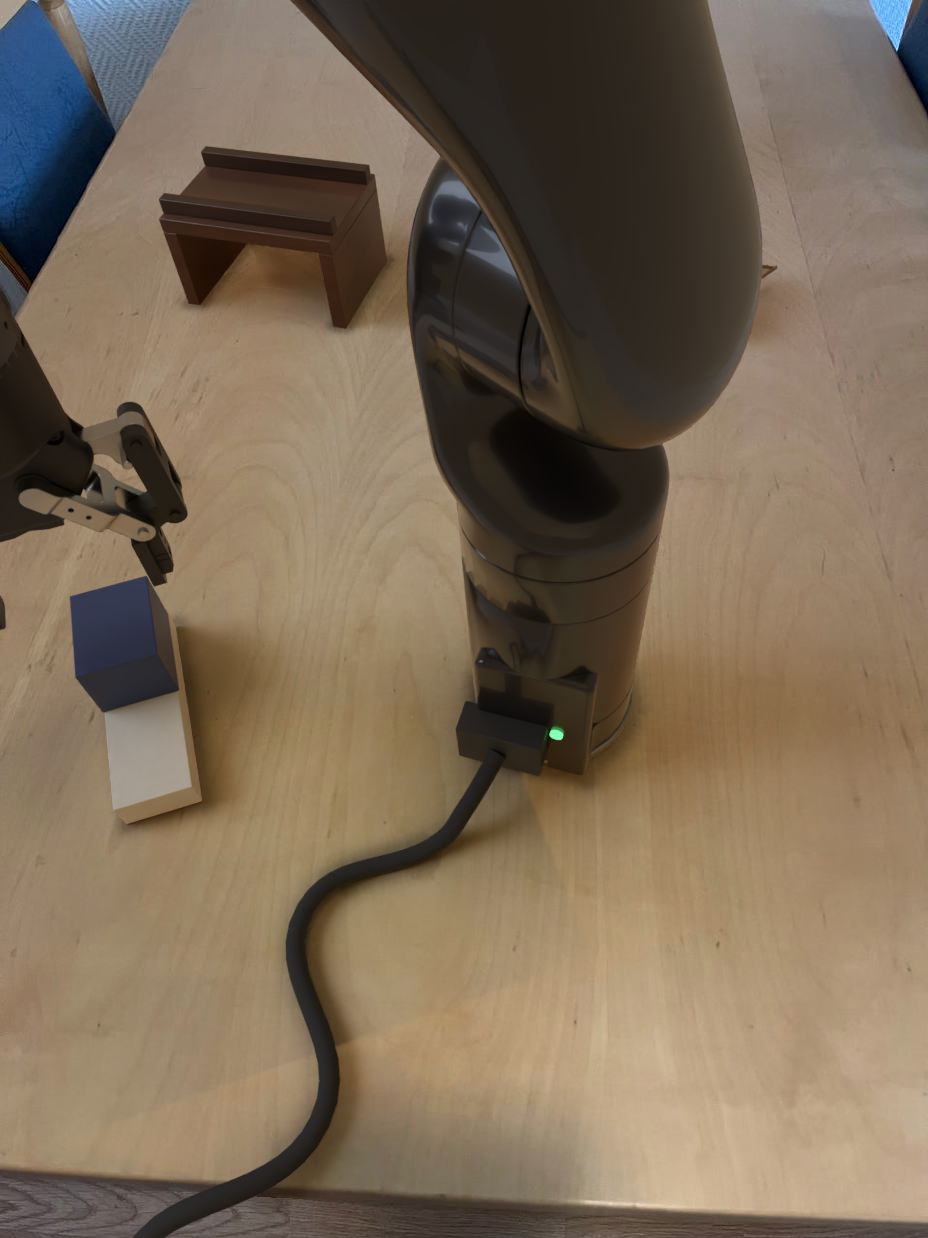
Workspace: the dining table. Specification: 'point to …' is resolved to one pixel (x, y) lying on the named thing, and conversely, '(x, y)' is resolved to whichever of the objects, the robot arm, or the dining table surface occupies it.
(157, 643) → the shoe
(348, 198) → the shoe shelf
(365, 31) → the robot arm
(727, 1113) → the dining table surface
